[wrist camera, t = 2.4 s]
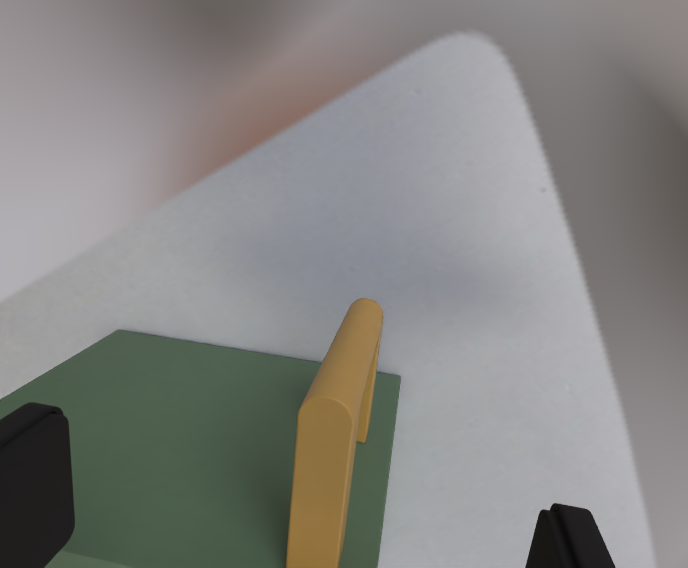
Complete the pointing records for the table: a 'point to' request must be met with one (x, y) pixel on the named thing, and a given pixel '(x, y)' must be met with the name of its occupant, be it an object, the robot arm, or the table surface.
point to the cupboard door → (225, 451)
